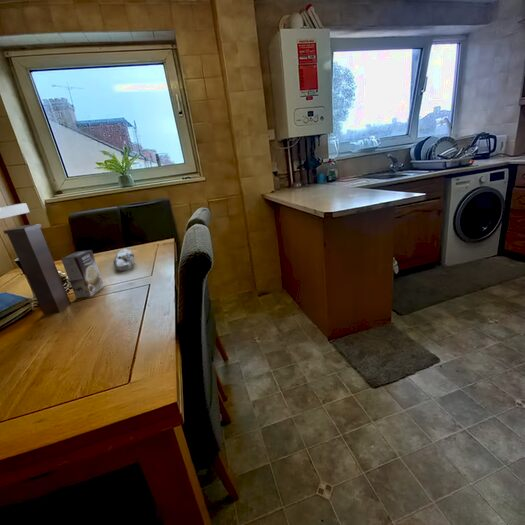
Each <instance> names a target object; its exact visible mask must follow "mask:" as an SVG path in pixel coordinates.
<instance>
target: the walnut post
mask: <svg viewBox="0 0 525 525" xmlns="http://www.w3.org/2000/svg"><path fill="white" fill-rule="evenodd" d="M41 227H43V226H42V223H32V224H25V225H20V226H15V227H12V228H9V229H4V230H2V231H3V234H4V235H7V237H8V239H9V241H10V243H11V245H12V248H13V250H14V252H15V254H16V257H17V260H18V261H19V263H20V266H21V267H22V270H23V272H24V275H25V277H26V278H27V281H28V283H29V285H30V288H31V290H32V292H33V294H34V296H35V298H36V301H37V304H38V305H39V307H40V310H41V312H42V314H43V315H48V314H49V315H50V314H59V313H61V312H63V311H64V310H65V309H66V308H68V307H69V306H70V305H72V303H71V300H70V298H69V295H68V293H67V290H66V288H65V285H64V283H63V280H62V278H61V275H60V274H59V270H58V269H57V266H56V263H55V260H54V258H53V256H52V253H51V251H50V248H49V246H48V244H47V241H46V239H45V236H44V234H43V232H42V229H41Z"/></svg>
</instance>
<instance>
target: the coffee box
mask: <svg viewBox="0 0 525 525" xmlns="http://www.w3.org/2000/svg"><path fill="white" fill-rule="evenodd" d="M93 252H94V251H93V250H92V249H88V250H81V251H75V252H74V253H71V254H69V255H67V256H64V257H62V258H60V261H61V263H62V265H63V268H64V271H65V274H66V276H67V278H68V280H69V284H70V286H71V289H72V292H73V294H74V296H75V298H76V299H80V298H91V297H92V296H94V295H96V293H98V292H99V291H101V290H102V289H104V288H105V284H104V282H103V278H102V276H101V273H100V270H99V268H98V264H97V261H96V258H95V256H94V253H93Z"/></svg>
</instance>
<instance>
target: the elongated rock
mask: <svg viewBox="0 0 525 525" xmlns="http://www.w3.org/2000/svg"><path fill="white" fill-rule="evenodd" d="M115 254H116V255H115V257H114V259H113V266H114V267H115V268H116V270H117V271H126V270H129V269H132V267H133V266H134V265H135V254H134V252H133V250H131V248H123V249H121V250H119V251H117V252H116V253H115Z"/></svg>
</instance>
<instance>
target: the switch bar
mask: <svg viewBox="0 0 525 525" xmlns="http://www.w3.org/2000/svg"><path fill="white" fill-rule="evenodd" d="M29 213H31V212H30V209H29V206H28V204H27V202H23V203H21V202H20V203H15V204H9V205H4V206H0V220H3V219H7V218H11V217H15V216H20V215H24V214H29Z"/></svg>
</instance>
